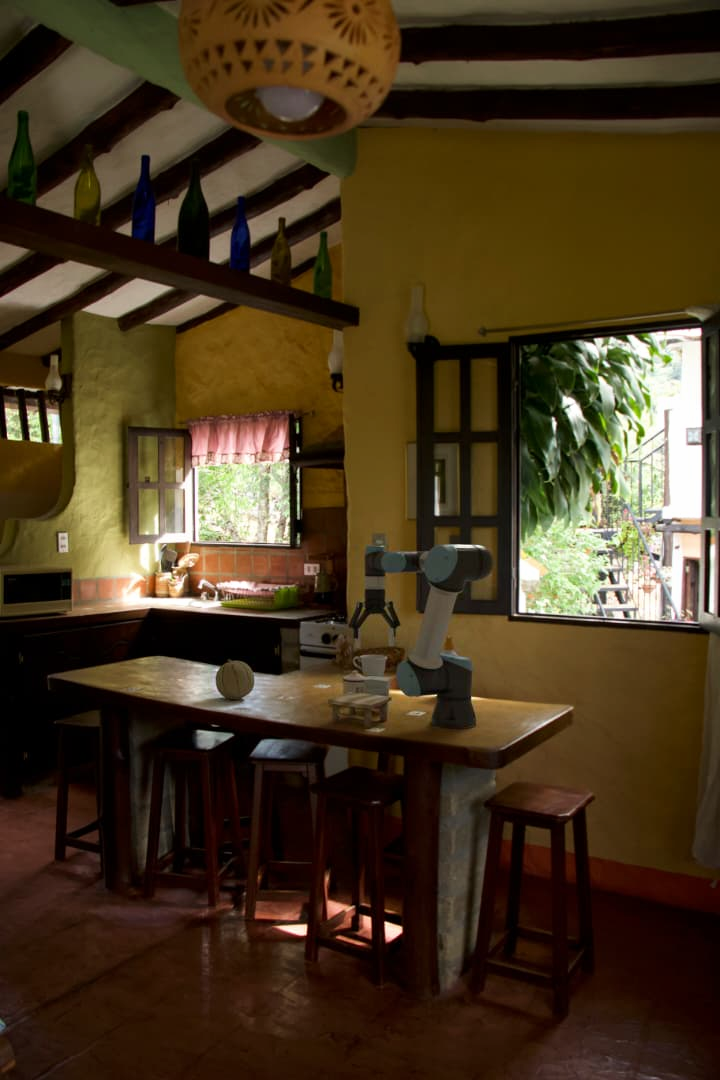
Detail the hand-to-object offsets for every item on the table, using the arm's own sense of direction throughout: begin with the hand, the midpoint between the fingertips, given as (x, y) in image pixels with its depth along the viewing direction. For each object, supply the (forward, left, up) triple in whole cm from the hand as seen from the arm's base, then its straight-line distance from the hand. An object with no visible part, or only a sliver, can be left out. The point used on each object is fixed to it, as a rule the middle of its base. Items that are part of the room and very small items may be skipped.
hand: (374, 646), depth 320 cm
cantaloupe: (+36, +40, -23) cm, 58 cm away
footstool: (-16, +14, -23) cm, 31 cm away
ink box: (-2, 0, -23) cm, 23 cm away
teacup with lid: (+15, -1, -23) cm, 27 cm away
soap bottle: (+9, -38, -23) cm, 45 cm away
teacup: (+53, -27, -23) cm, 63 cm away
